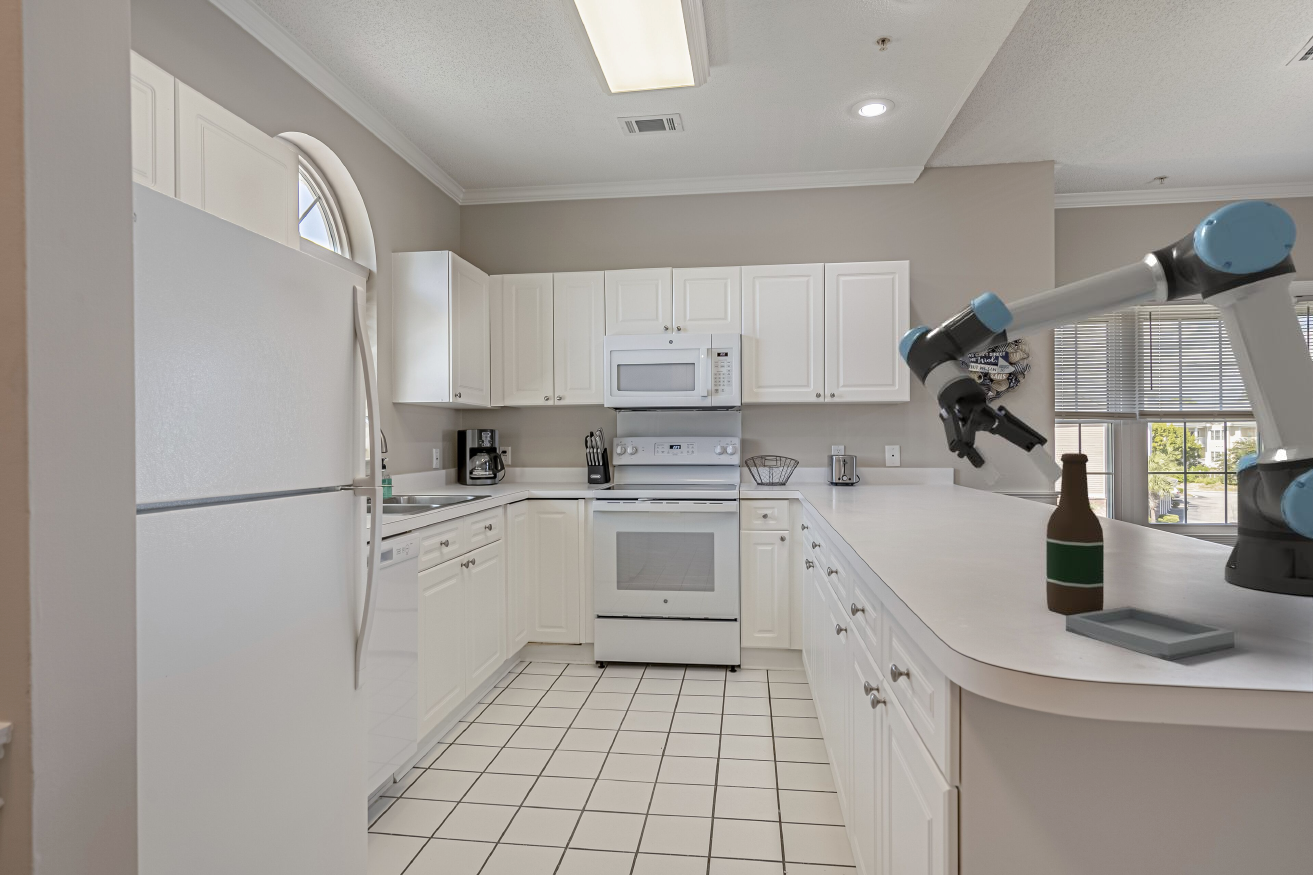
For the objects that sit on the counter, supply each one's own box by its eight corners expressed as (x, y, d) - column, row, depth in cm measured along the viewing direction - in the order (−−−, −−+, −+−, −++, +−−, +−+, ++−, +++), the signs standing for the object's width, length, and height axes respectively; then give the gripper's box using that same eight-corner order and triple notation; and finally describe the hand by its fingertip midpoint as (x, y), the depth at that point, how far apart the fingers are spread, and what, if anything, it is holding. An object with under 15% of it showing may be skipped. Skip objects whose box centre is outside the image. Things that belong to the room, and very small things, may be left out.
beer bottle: (1087, 604, 105) (1087, 452, 105) (1116, 618, 97) (1116, 454, 97) (1035, 603, 106) (1035, 452, 106) (1060, 617, 98) (1060, 454, 98)
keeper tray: (1128, 619, 96) (1128, 606, 96) (1234, 646, 84) (1234, 631, 84) (1066, 630, 92) (1066, 615, 92) (1168, 660, 80) (1168, 643, 80)
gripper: (994, 407, 129) (1067, 491, 115) (891, 405, 120) (956, 497, 106) (1018, 377, 124) (1097, 462, 110) (912, 374, 114) (983, 465, 101)
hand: (1028, 479), depth 108 cm, fingers open, 13 cm apart
